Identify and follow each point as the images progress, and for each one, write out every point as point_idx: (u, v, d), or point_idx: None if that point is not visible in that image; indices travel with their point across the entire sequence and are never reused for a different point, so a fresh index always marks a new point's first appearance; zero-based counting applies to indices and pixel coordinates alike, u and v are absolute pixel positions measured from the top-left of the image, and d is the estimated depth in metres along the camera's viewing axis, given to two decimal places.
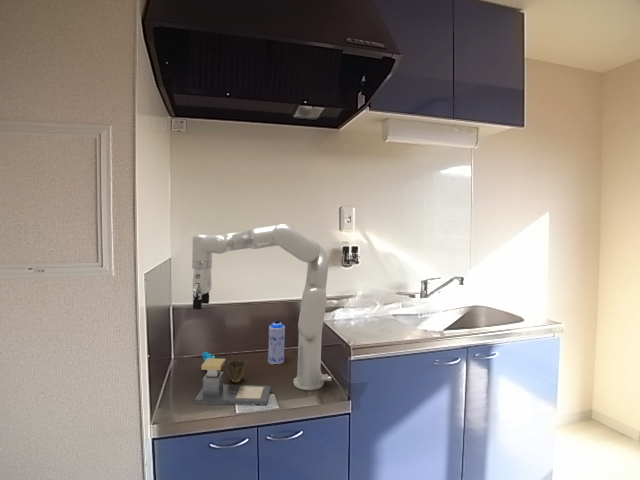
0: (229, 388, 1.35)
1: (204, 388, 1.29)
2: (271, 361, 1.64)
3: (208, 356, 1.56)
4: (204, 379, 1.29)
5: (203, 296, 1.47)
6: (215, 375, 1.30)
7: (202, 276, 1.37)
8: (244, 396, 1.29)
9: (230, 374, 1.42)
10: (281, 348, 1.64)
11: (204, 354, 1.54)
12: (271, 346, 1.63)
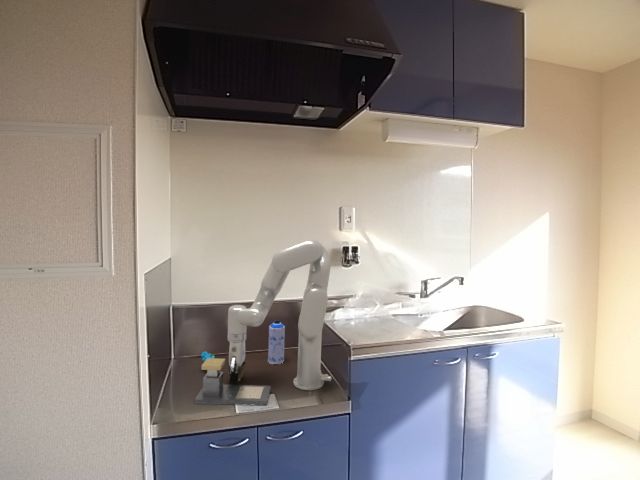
0: (229, 388, 1.35)
1: (204, 388, 1.29)
2: (271, 361, 1.64)
3: (207, 356, 1.56)
4: (204, 379, 1.29)
5: None
6: (215, 375, 1.30)
7: (238, 349, 1.39)
8: (244, 396, 1.29)
9: None
10: (281, 348, 1.64)
11: (203, 354, 1.54)
12: (271, 346, 1.63)
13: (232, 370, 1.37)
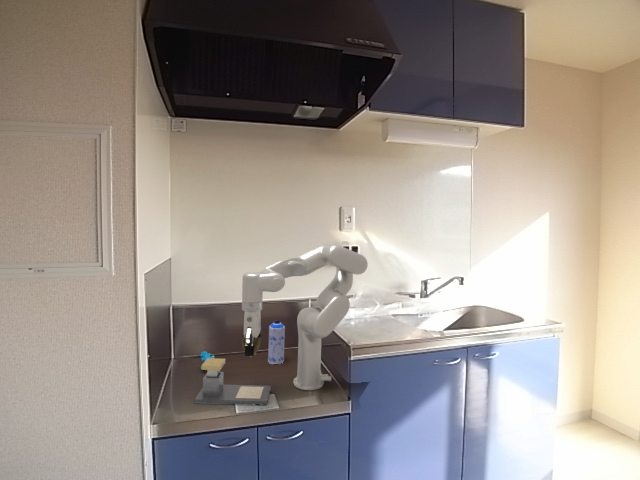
0: (229, 388, 1.35)
1: (204, 388, 1.29)
2: (271, 361, 1.64)
3: (207, 356, 1.56)
4: (204, 379, 1.29)
5: None
6: (215, 375, 1.30)
7: (254, 319, 1.27)
8: (244, 396, 1.29)
9: (244, 347, 1.29)
10: (281, 348, 1.64)
11: (202, 354, 1.54)
12: (271, 346, 1.63)
13: (248, 342, 1.25)
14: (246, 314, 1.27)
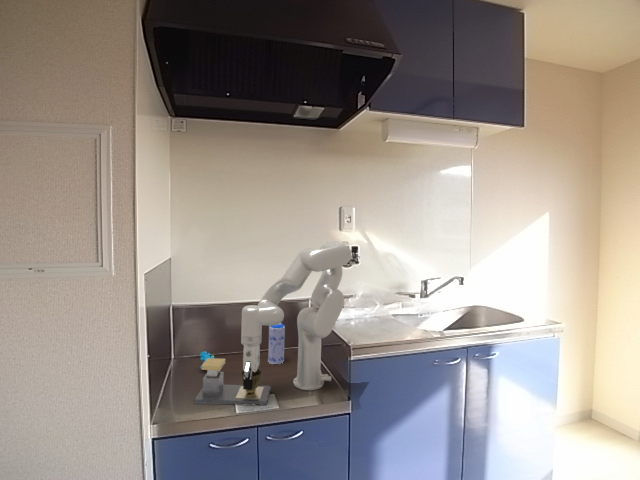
0: (229, 388, 1.35)
1: (204, 388, 1.29)
2: (271, 361, 1.64)
3: (206, 356, 1.56)
4: (204, 379, 1.29)
5: None
6: (215, 375, 1.30)
7: (253, 353, 1.27)
8: (244, 396, 1.29)
9: None
10: (281, 348, 1.64)
11: (202, 354, 1.55)
12: (271, 346, 1.63)
13: (246, 375, 1.24)
14: (245, 348, 1.27)
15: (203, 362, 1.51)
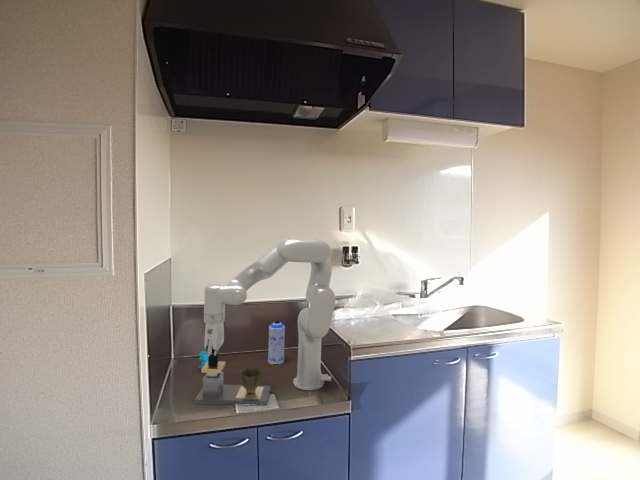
0: (229, 388, 1.35)
1: (204, 388, 1.29)
2: (271, 361, 1.64)
3: (205, 356, 1.56)
4: (204, 379, 1.29)
5: None
6: None
7: (215, 331, 1.26)
8: (244, 396, 1.29)
9: (244, 384, 1.30)
10: (281, 348, 1.64)
11: (201, 353, 1.55)
12: (271, 346, 1.63)
13: (210, 353, 1.28)
14: (207, 326, 1.27)
15: (202, 362, 1.51)
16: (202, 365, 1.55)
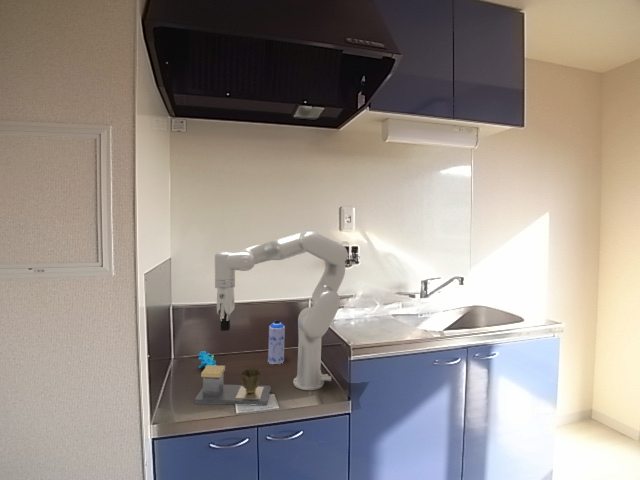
0: (229, 388, 1.35)
1: (204, 388, 1.29)
2: (271, 361, 1.64)
3: (205, 355, 1.57)
4: (204, 379, 1.29)
5: None
6: None
7: (227, 296, 1.31)
8: (244, 396, 1.29)
9: (244, 384, 1.30)
10: (281, 348, 1.64)
11: (200, 353, 1.55)
12: (271, 346, 1.63)
13: (223, 318, 1.32)
14: (219, 291, 1.31)
15: (201, 362, 1.52)
16: (202, 365, 1.56)
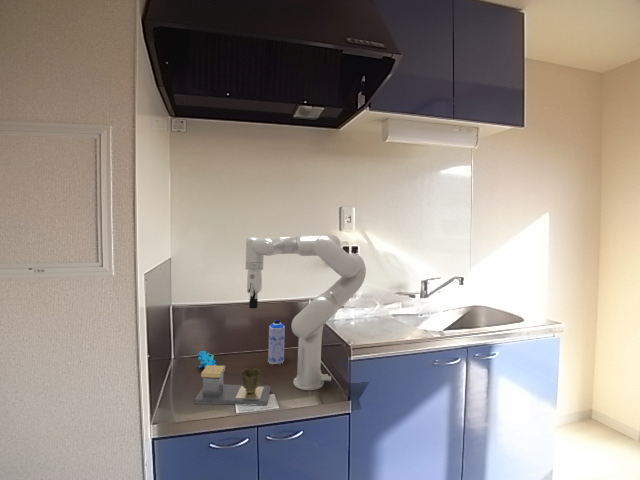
0: (229, 388, 1.35)
1: (204, 388, 1.29)
2: (271, 361, 1.64)
3: (205, 355, 1.57)
4: (204, 379, 1.29)
5: None
6: None
7: (256, 276, 1.46)
8: (244, 396, 1.29)
9: (244, 384, 1.30)
10: (281, 348, 1.64)
11: (200, 353, 1.55)
12: (271, 346, 1.63)
13: (252, 296, 1.47)
14: (249, 272, 1.46)
15: (200, 362, 1.52)
16: (201, 365, 1.56)
